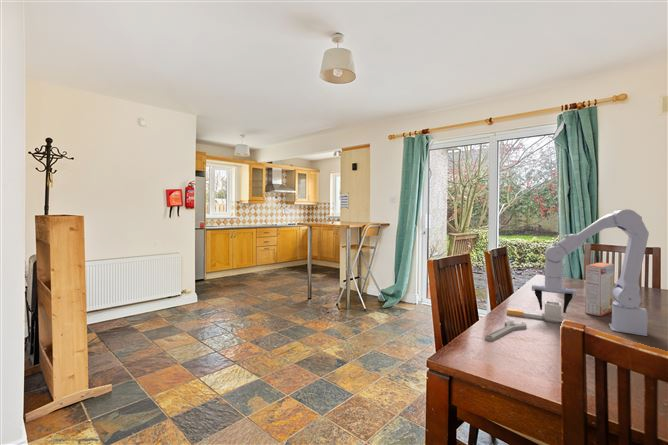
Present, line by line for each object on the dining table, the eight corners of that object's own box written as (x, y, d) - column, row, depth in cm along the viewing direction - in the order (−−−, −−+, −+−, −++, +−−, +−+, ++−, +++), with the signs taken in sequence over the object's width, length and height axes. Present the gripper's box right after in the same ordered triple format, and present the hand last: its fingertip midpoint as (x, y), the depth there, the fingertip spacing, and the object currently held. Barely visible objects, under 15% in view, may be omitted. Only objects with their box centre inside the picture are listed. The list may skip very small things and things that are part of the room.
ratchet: (562, 319, 131) (562, 307, 131) (563, 324, 125) (563, 311, 125) (507, 311, 142) (507, 300, 141) (506, 315, 136) (506, 303, 135)
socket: (560, 315, 131) (560, 302, 131) (561, 318, 126) (561, 305, 126) (544, 312, 134) (544, 300, 134) (544, 316, 129) (544, 303, 129)
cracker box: (596, 308, 147) (598, 262, 147) (613, 311, 142) (615, 263, 141) (583, 313, 140) (584, 264, 139) (600, 317, 135) (602, 266, 134)
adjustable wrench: (491, 343, 108) (491, 338, 108) (473, 337, 114) (473, 332, 114) (529, 328, 122) (529, 323, 122) (511, 323, 128) (511, 318, 127)
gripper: (575, 277, 129) (574, 311, 129) (532, 273, 137) (531, 305, 137) (576, 280, 123) (575, 316, 123) (531, 276, 131) (531, 309, 131)
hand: (552, 310), depth 130 cm, fingers open, 7 cm apart
